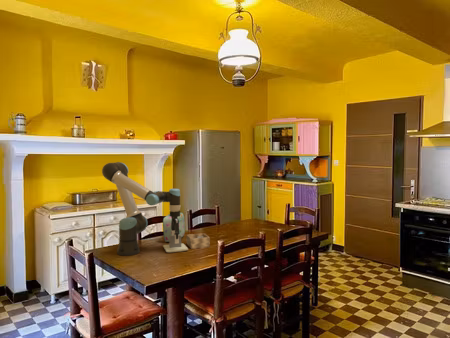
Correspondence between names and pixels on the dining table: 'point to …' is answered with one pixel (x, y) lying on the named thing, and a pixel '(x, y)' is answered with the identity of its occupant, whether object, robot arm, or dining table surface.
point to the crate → (198, 241)
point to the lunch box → (167, 226)
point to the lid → (175, 245)
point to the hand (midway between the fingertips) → (175, 241)
